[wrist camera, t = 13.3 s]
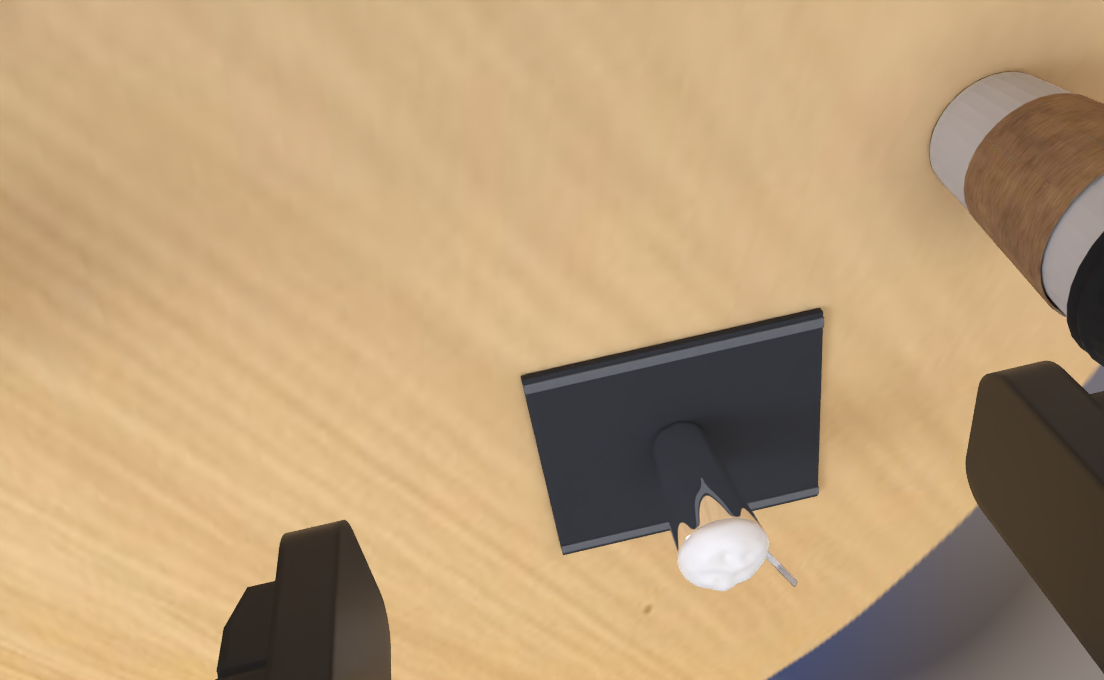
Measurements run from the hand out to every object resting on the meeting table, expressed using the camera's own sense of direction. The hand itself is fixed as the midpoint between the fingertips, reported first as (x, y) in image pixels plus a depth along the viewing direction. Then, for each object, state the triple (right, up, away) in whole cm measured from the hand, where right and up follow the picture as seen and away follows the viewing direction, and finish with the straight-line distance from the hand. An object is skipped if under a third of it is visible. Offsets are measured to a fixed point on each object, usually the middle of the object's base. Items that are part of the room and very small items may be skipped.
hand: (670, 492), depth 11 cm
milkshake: (+6, -4, +39) cm, 39 cm away
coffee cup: (+19, +12, +30) cm, 38 cm away
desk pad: (+6, -4, +39) cm, 39 cm away
